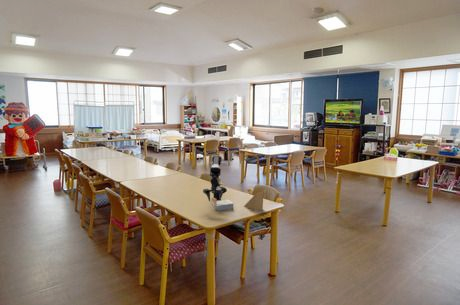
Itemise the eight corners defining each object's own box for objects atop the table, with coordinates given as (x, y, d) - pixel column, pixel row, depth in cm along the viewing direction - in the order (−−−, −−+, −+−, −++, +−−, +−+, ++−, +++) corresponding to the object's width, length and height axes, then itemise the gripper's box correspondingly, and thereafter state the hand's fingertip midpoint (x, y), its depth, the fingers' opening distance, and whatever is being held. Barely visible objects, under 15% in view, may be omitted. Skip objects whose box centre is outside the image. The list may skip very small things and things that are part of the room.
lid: (211, 202, 252) (211, 197, 252) (228, 200, 259) (228, 195, 258) (216, 206, 243) (216, 200, 242) (233, 203, 250) (233, 198, 249)
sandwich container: (250, 204, 263) (251, 187, 261) (263, 209, 252) (263, 191, 249) (243, 206, 258) (243, 189, 256) (255, 211, 246) (255, 193, 244)
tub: (213, 207, 254) (214, 202, 253) (228, 205, 259) (228, 200, 259) (218, 211, 245) (218, 206, 244) (233, 209, 251) (233, 204, 250)
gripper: (208, 185, 234) (207, 205, 236) (229, 183, 242) (229, 202, 245) (202, 182, 244) (202, 200, 246) (223, 180, 252) (223, 198, 254)
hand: (214, 200), depth 248 cm, fingers open, 9 cm apart
